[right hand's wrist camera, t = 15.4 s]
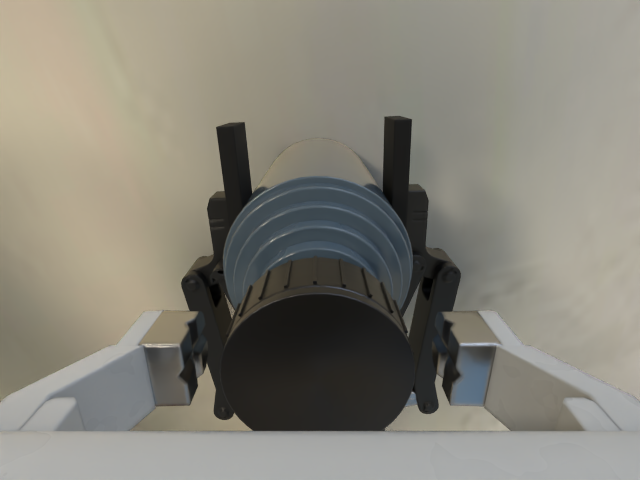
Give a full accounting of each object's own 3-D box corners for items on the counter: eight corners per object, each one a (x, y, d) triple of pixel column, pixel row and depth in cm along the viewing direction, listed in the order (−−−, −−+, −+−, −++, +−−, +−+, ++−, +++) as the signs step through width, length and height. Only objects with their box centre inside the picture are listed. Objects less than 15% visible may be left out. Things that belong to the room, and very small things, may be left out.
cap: (407, 383, 11) (424, 439, 9) (255, 403, 11) (243, 462, 10) (392, 241, 10) (410, 275, 8) (215, 269, 10) (192, 308, 8)
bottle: (376, 232, 26) (469, 455, 10) (277, 247, 27) (213, 486, 11) (364, 129, 24) (461, 202, 8) (255, 148, 24) (125, 256, 8)
